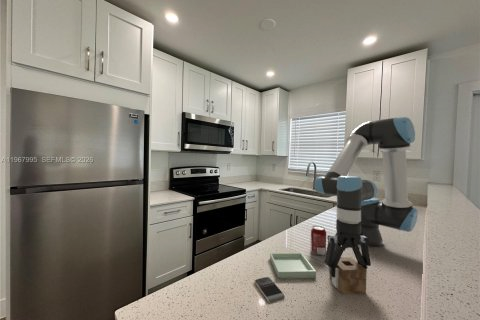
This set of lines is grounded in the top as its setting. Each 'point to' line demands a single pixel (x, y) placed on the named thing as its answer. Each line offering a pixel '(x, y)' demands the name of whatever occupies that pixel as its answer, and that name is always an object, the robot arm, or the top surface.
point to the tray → (292, 265)
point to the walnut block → (351, 276)
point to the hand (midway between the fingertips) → (346, 285)
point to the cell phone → (269, 289)
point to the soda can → (318, 240)
